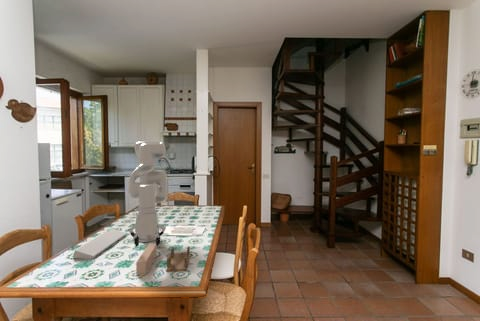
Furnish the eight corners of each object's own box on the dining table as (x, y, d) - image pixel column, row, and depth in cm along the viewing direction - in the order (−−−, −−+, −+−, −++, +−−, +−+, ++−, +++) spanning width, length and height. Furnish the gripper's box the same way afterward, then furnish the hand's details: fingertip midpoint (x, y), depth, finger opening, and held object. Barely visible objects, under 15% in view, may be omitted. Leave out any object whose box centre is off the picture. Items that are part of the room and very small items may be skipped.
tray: (201, 237, 161) (201, 231, 160) (158, 238, 161) (157, 232, 161) (206, 227, 181) (206, 222, 181) (167, 228, 181) (167, 223, 181)
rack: (166, 271, 114) (166, 260, 114) (172, 254, 132) (172, 245, 132) (186, 270, 115) (186, 260, 115) (190, 254, 133) (190, 245, 133)
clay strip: (136, 275, 111) (136, 262, 111) (149, 254, 133) (149, 243, 133) (145, 275, 112) (145, 261, 111) (157, 254, 133) (156, 243, 133)
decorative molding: (124, 240, 161) (110, 235, 161) (126, 233, 160) (111, 228, 161) (91, 265, 127) (72, 259, 127) (93, 256, 126) (74, 250, 127)
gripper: (125, 212, 116) (126, 249, 117) (163, 211, 118) (164, 247, 118) (131, 208, 124) (131, 243, 124) (167, 208, 125) (167, 242, 126)
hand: (147, 245), depth 121 cm, fingers open, 9 cm apart
